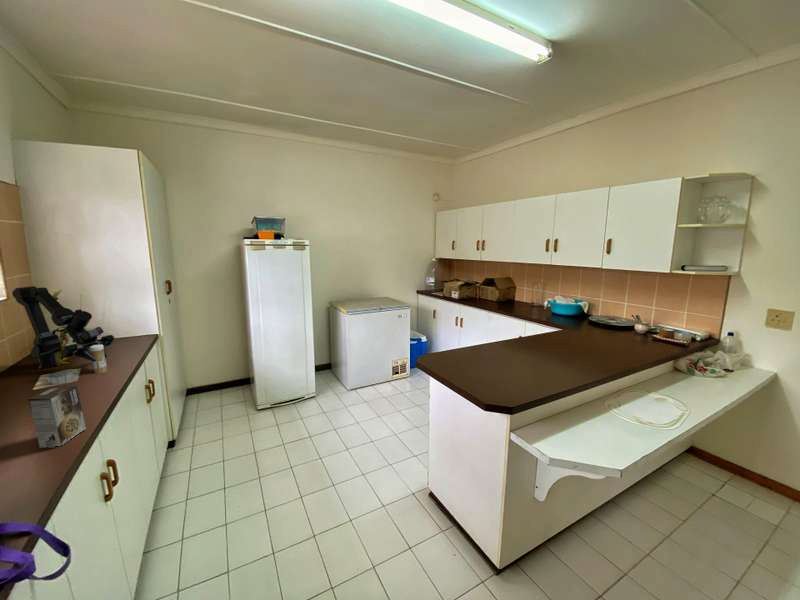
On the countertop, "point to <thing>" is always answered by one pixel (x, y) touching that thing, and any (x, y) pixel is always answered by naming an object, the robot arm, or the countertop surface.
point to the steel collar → (62, 376)
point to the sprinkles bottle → (98, 358)
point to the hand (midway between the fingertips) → (101, 359)
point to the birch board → (44, 381)
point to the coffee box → (57, 415)
